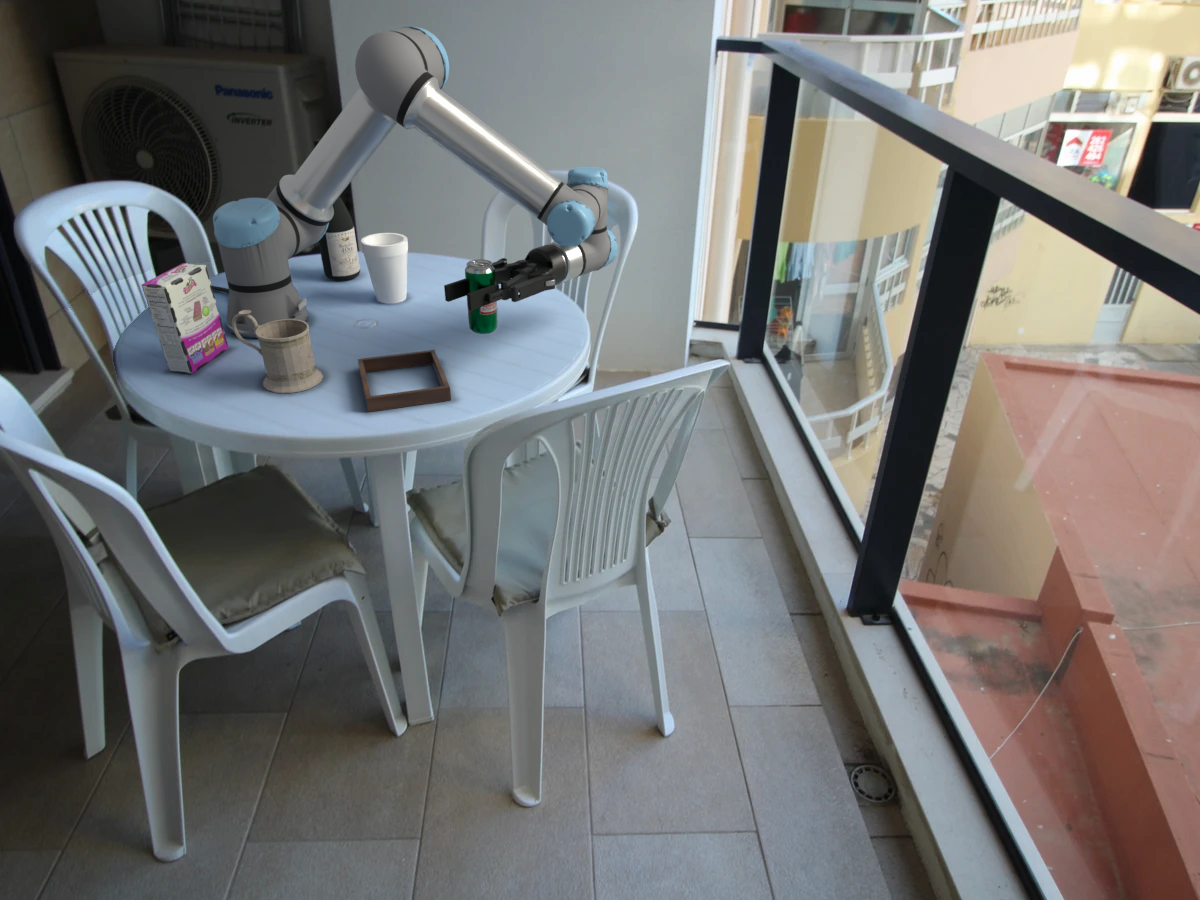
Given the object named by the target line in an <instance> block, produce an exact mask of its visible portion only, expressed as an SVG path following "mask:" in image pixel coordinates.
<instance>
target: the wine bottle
mask: <svg viewBox="0 0 1200 900" xmlns="http://www.w3.org/2000/svg"><path fill="white" fill-rule="evenodd" d="M321 139H322V138H317V139H314V140H313V146H314V148H315V147H316V146H317V144H318V143H319V142H320V140H321ZM332 206H333V209H334V215H333V217H332V219H331V220H330V221H329V225H328V228H327V231H326V232H325V234H324V235H323V237H322V238H321V239H320V240H319V241H318V245H319V251H320V257H321V263H322V269H323V273H324V276H325V277H326V278H327V279H328V280H331V281H335V282H346V281H351V280H355V279H356V278H358V277H359V276H360V274H361V266H360V259H359V252H358V246H357V240H356V239H357V238H356V233H355V225H354V222H353V220H352V216H351V214H350V212H349V210H348V208H347V206H346V204H345V203H344V201H343V199H342V197H341V195H340V196H339V197H338V198H337V199H336V201H335V202H334V203H333V205H332Z"/></svg>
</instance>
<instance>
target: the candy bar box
mask: <svg viewBox="0 0 1200 900" xmlns="http://www.w3.org/2000/svg"><path fill="white" fill-rule="evenodd" d="M140 285H141V288H142V291H143V295H144V298H145V301H146V303H147V305H148V306H147V307H148V310H149V312H150V315H151V318H152V321H153V324H154V327H155V330H156V334H157V336H158V340H159V343H160V346H161V349H162V352H163V355H164V358H165V361H166V364H167V368H168V370H169V372H173V373H179V374H181V373H182V374H192V375H193V374H194V373H196V372H197V371H199V370H200V369H201V368H204V366H206V365H207V364H209V363H211V361H213V360H214V359H216V358H218V357H219V356H220V355H221V354H223V353H224V352H226V351H227V350H229V348H230V346H229V344H228V340H227V336H226V333H225V329H224V326H223V321H222V318H221V314H220V311H219V308H218V304H217V301H216V297H215V293H214V290H213V289H212V286H213V285H212V283H211V278H210V274H209V272H208V268H207V265H206V264H199V263H198V264H197V263H189V262H183V263H180V264H178V265H176V266H175V267H173V268H171V269H169V270H167V271H165V272H162V273H161V274H159V275H157V276H155V277H153V278H152V279H149V280H147V281H146V282H143V283H142V284H140Z"/></svg>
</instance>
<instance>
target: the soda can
mask: <svg viewBox="0 0 1200 900" xmlns="http://www.w3.org/2000/svg"><path fill="white" fill-rule="evenodd" d="M492 263H493V262H492V261H491V260H489V259H478V258H477V259H472V260H468V262H466V267H465V268H464V279H465V280H466V293H467V294H468V293H471V292H474V291H477V290H480V289H482V288H485V287H488V286H491V285H494V284H496V280H495V268H494V267H493V265H492ZM466 303H467V307H468V301H467V300H466ZM467 314H468V315H467V317H468V329H470V330H471V332H472V333H474V334H477V335H489V334H492V333H494V332H495V331H496V330H497V329H498V328H499V319H498V317H499V316H498V301H496V302H493V303H490V304H488V305H485V306H482V307H479V308H477V309H474V310H468V309H467Z"/></svg>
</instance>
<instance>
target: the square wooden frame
mask: <svg viewBox="0 0 1200 900" xmlns="http://www.w3.org/2000/svg"><path fill="white" fill-rule="evenodd" d="M439 360H440V359H439V357H438V354H437V353H436V350H435V349H428V350H421V351H411V352H404V353H395V354H388V355H387V354H386V355H380V356H379V355H378V356H371V357H363V358H362V357H361V358H357V364H358V369H359V375H360V380H361V384H362V388H363V393H364V394H363V395H364V398H365V402H366V407H367V408H366V409H367V412H368V413H373V412H381V411H385V410H386V411H387V410H393V409H400V408H406V407H414V406H422V405H428V404H435V403H442V402H447V401H448V402H449V401H452V394H451V393H452V392H451V387H450V386H451V385H450V384H449V381H448V379H447V377H446V374H445V371H444V369H443V367H442V364H441V363H440V361H439ZM426 365H427V366H428V365H432V367H433V370H434V373H435V375H436V378H437V380H438V382H439V383H438V384H439V385H440V386H435V387H428V388H420V389H412V390H407V391H399V392H398V391H397V392H392V393H385V394H378V395H371V391H370V387H369V382H368V378H367V373H373V372H383V371H388V370H395V369H396V370H398V369H403V368H412V367H419V366H426Z"/></svg>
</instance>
